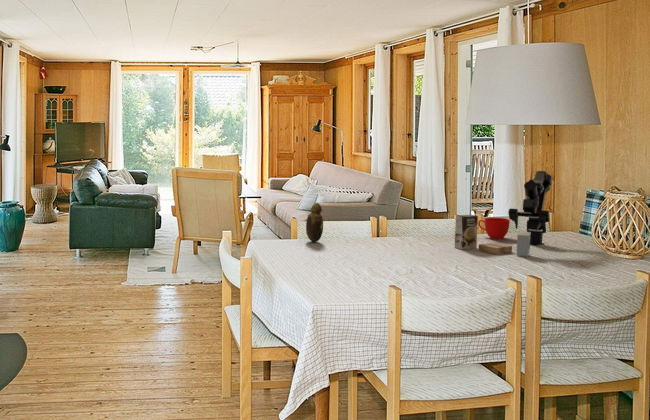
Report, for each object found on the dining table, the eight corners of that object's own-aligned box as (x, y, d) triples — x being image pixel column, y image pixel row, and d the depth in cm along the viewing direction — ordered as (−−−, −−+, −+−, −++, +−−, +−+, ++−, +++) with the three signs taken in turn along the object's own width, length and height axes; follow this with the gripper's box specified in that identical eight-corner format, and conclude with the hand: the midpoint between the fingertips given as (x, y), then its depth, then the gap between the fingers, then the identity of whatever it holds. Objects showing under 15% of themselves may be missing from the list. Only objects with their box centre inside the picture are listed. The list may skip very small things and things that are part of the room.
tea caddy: (518, 254, 353) (519, 231, 351) (529, 255, 351) (530, 232, 349) (516, 256, 348) (517, 232, 347) (527, 257, 346) (528, 233, 345)
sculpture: (323, 244, 375) (324, 204, 372) (307, 244, 374) (307, 204, 371) (321, 239, 388) (321, 201, 385) (305, 239, 387) (305, 201, 384)
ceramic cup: (483, 234, 408) (483, 216, 406) (512, 237, 398) (513, 219, 397) (472, 237, 397) (473, 219, 396) (503, 241, 388) (503, 222, 386)
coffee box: (462, 249, 363) (463, 216, 361) (454, 247, 368) (455, 215, 366) (477, 248, 367) (478, 215, 365) (468, 246, 373) (470, 214, 370)
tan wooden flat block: (495, 248, 367) (495, 242, 366) (511, 252, 357) (512, 246, 357) (478, 250, 361) (478, 244, 360) (495, 254, 352) (495, 248, 351)
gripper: (509, 191, 359) (504, 217, 351) (550, 193, 351) (545, 220, 343) (512, 206, 367) (506, 231, 359) (551, 208, 360) (547, 234, 351)
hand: (526, 229), depth 353 cm, fingers open, 9 cm apart
